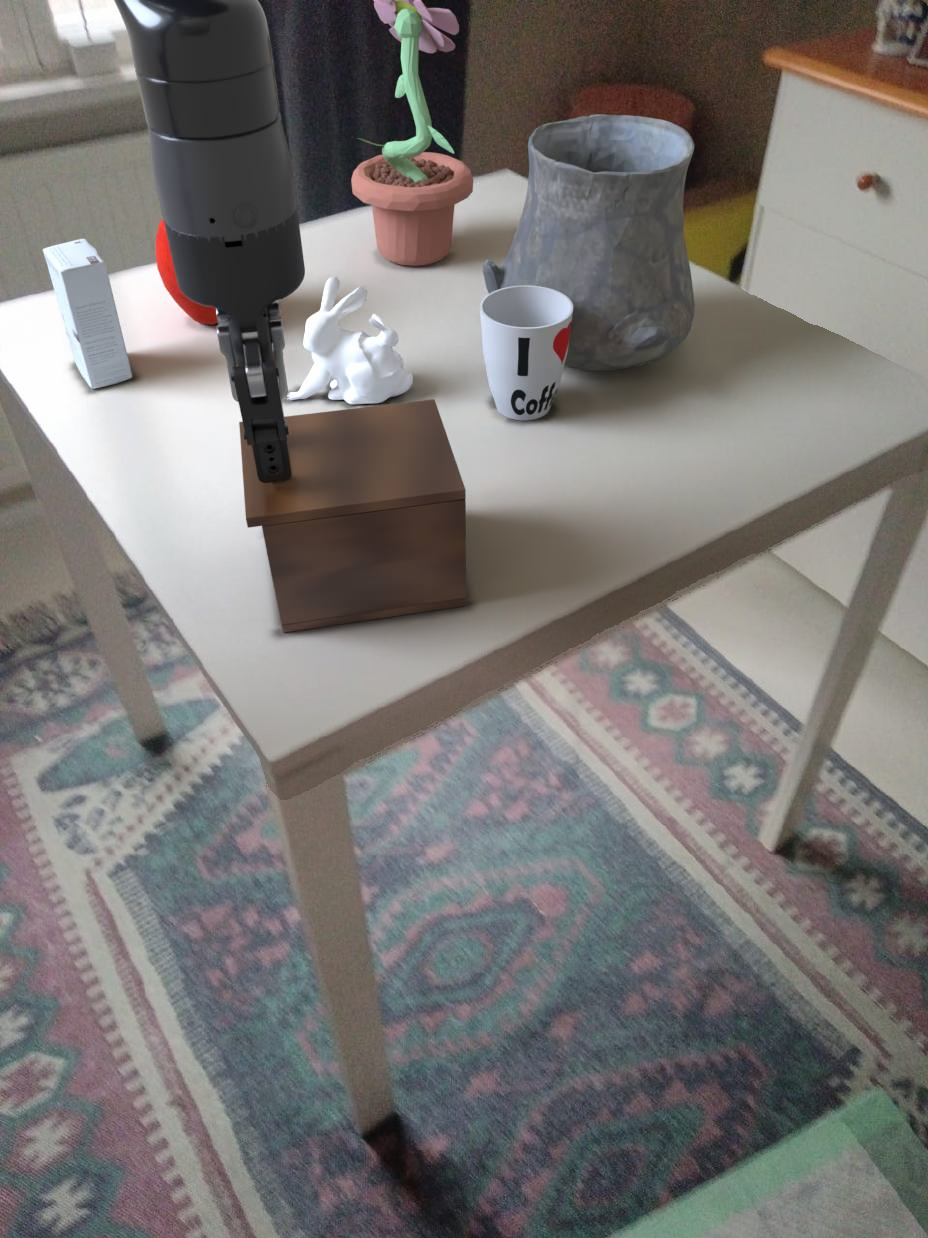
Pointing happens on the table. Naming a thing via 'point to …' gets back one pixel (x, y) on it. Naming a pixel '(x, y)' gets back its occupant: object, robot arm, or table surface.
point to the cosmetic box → (88, 312)
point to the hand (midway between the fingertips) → (272, 453)
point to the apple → (170, 282)
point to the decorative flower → (414, 152)
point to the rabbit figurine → (351, 354)
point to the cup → (525, 347)
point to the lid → (356, 464)
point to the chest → (368, 564)
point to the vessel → (607, 236)
